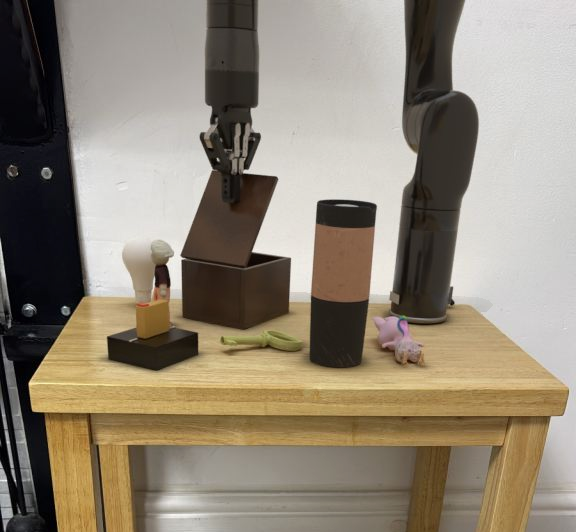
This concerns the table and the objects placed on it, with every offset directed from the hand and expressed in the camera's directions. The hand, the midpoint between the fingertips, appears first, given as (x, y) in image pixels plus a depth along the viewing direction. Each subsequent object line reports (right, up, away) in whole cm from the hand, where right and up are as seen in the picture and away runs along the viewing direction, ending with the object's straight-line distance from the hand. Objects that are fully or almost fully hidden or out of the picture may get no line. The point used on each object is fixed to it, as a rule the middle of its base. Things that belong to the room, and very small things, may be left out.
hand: (230, 202), depth 116 cm
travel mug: (+15, -26, -10) cm, 31 cm away
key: (+5, -23, -6) cm, 24 cm away
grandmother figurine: (-10, -19, +1) cm, 21 cm away
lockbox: (0, -14, +10) cm, 17 cm away
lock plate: (-9, -25, -12) cm, 30 cm away
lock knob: (-9, -23, -14) cm, 28 cm away
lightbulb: (-15, -12, +12) cm, 23 cm away
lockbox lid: (0, -2, +1) cm, 2 cm away
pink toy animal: (+24, -23, -5) cm, 34 cm away
